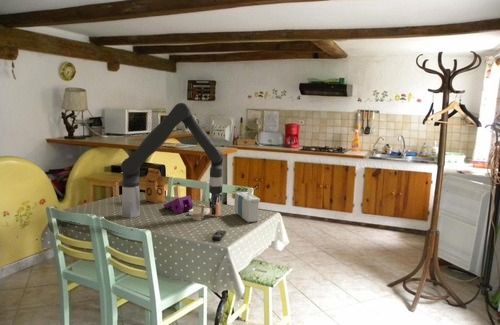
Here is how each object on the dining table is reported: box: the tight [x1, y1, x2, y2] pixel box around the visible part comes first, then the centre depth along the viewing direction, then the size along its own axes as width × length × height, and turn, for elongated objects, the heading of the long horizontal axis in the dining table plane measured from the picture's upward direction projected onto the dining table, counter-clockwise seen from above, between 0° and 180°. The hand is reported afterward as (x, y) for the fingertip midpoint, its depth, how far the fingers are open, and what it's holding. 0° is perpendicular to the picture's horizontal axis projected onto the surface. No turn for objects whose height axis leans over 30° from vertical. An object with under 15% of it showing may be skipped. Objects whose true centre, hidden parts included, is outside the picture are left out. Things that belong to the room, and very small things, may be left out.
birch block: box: [192, 204, 205, 221], centre depth 218 cm, size 4×4×8 cm
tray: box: [188, 207, 210, 217], centre depth 229 cm, size 9×9×3 cm
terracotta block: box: [209, 201, 222, 218], centre depth 226 cm, size 4×4×8 cm
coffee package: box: [144, 167, 165, 204], centre depth 256 cm, size 10×12×22 cm
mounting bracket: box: [162, 195, 194, 214], centre depth 236 cm, size 9×8×18 cm
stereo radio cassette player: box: [234, 185, 261, 223], centre depth 222 cm, size 21×8×20 cm, turn 21°
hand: (215, 213), depth 226 cm, fingers closed on terracotta block, 4 cm apart
